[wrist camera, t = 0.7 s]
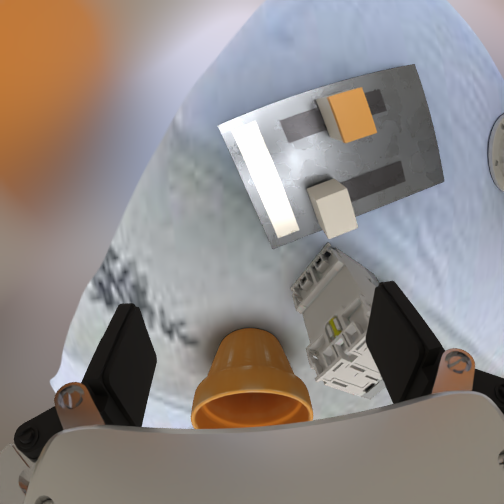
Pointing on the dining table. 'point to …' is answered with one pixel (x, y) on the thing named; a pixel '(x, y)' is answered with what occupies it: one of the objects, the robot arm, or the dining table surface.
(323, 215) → the on lever
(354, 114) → the lever
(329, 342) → the circuit breaker
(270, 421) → the flower pot
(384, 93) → the slotted slider board
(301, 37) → the dining table surface
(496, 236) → the dining table surface
